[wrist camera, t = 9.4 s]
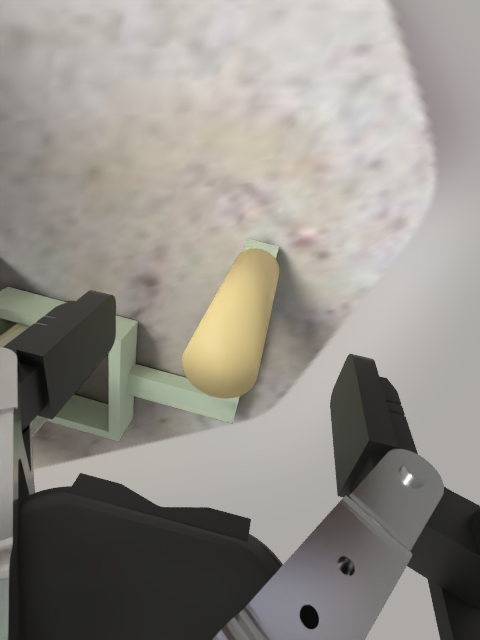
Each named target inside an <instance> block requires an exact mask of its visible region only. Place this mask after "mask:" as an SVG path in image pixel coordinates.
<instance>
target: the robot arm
mask: <svg viewBox="0 0 480 640" xmlns="http://www.w3.org/2000/svg"><path fill="white" fill-rule="evenodd" d="M115 338H116V301H115V297H114V296H113V295H109V294H105V293H100V292H96V291H92V290H90V291H88V292H87V293H86V294H84V295H83V296H82V297H81V298H79V299H78V300H77V301H69V302H67V303H64V304H61V305H59V306H56V307H55V308H54V309H52V310H51V311H50V312H48V313H47V314H46V315H45V317H44V316H43V317H42V318H40V319H39V320H38V321H37V322H36V324H35V323H34V324H33V325H31V326H30V327H29V328H27V329H26V330H25V331H23V332H22V333H21V334H19V335H18V336H17V337H15V338H14V339H13V340H12V341H10V342H9V343H8V344H6V345H5V346H4V347H0V640H365V638H366V637H367V635H368V633H369V631H370V630H371V628H372V626H373V624H374V623H375V621H376V619H377V617H378V616H379V614H380V612H381V610H382V608H383V607H384V605H385V603H386V601H387V600H388V598H389V596H390V594H391V593H392V591H393V589H394V587H395V586H396V584H397V582H398V580H399V579H400V577H401V575H402V573H403V572H404V570H405V568H406V566H408V567H410V568H412V569H413V570H415V571H416V572H418V573H419V574H421V575H423V576H424V577H426V578H427V579H428V583H429V588H430V593H431V598H432V602H433V607H434V611H435V616H436V621H437V626H438V631H439V635H440V640H480V506H479V505H477V504H475V503H473V502H471V501H469V500H468V499H466V498H464V497H462V496H460V495H458V494H456V493H454V492H452V491H450V490H449V489H447V488H446V487H444V484H443V481H442V479H441V477H440V475H439V473H438V472H437V470H436V469H435V468H434V467H433V466H432V465H431V464H430V463H429V462H428V461H427V460H425V459H424V458H423V457H421V456H420V455H418V453H417V450H416V448H415V444H414V441H413V438H412V436H411V432H410V430H409V426H408V423H407V420H406V417H404V411H403V408H402V406H401V402H400V399H399V396H398V393H397V391H396V389H395V388H394V387H393V385H392V384H391V383H390V382H389V381H388V379H387V378H383V377H379V375H378V371H377V368H376V364H375V361H374V360H373V359H370V358H366V357H362V356H357V355H353V354H349V355H348V357H347V359H346V361H345V363H344V366H343V368H342V370H341V372H340V375H339V377H338V379H337V382H336V384H335V386H334V389H333V392H332V396H331V403H330V408H331V421H332V433H333V444H334V457H335V469H336V480H337V492H338V496H340V497H344V498H343V499H342V500H341V501H340V502H339V503H338V504H337V505H336V507H334V508H333V510H332V511H331V512H330V513H329V514H328V515H327V516H326V517H325V519H324V520H323V521H322V522H321V523H320V524H319V525H318V526H317V527H316V529H315V530H314V531H313V532H312V533H311V534H310V535H309V536H308V538H307V539H306V540H305V541H304V542H303V543H302V544H301V545H300V547H299V548H298V549H297V550H296V551H295V552H294V554H292V555H291V557H290V558H289V559H288V560H287V561H286V562H285V563H284V564H282V563H281V561H280V560H279V559H278V558H277V557H276V555H275V554H274V553H273V552H272V551H271V550H270V549H269V548H268V547H267V546H266V545H265V544H263V543H262V542H261V541H259V540H258V539H257V538H255V537H253V536H252V535H250V534H249V529H250V522H251V519H249V518H245V517H241V516H238V515H234V514H230V513H226V512H223V511H219V510H215V509H211V508H191V507H189V508H188V507H185V508H184V507H181V508H179V507H176V508H175V507H160V506H157V505H155V504H153V503H152V502H150V501H149V500H147V499H145V498H144V497H142V496H140V495H139V494H137V493H135V492H134V491H132V490H130V489H129V488H127V487H125V486H124V485H122V484H119V483H115V482H111V481H108V480H104V479H100V478H97V477H93V476H89V475H86V474H82V473H80V474H79V476H78V478H77V479H76V481H75V482H74V484H73V485H72V487H59V488H53V489H48V490H43V491H40V492H37V493H35V488H34V474H33V473H34V472H33V450H32V429H31V424H30V423H31V422H32V421H33V420H34V419H35V418H36V416H41V417H45V418H48V419H52V420H53V418H54V417H55V416H56V415H57V414H58V412H59V411H60V410H61V409H62V408H63V406H64V405H65V404H66V403H67V402H68V401H69V399H70V398H71V397H72V396H73V395H74V393H75V392H76V391H77V390H78V389H79V387H80V386H81V385H82V384H83V383H84V381H85V380H86V379H87V378H88V377H89V375H90V374H91V373H92V372H93V371H94V370H95V368H96V367H97V366H98V365H99V364H100V362H101V361H102V360H103V359H104V358H105V356H106V355H107V354H108V353H109V352H110V350H111V349H112V347H113V345H114V342H115Z"/></svg>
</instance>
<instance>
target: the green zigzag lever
mask: <svg viewBox="0 0 480 640" xmlns="http://www.w3.org/2000/svg"><path fill="white" fill-rule="evenodd" d="M278 249H279V246H275V245H271V244H267V243H263V242H259V241H255V240H251V239H248V240H247V242H246V244H245V247H244V252H242V253H241V254H240V255H239V256H238V257H237V258H236V260H235V261H234V263H233V265H232V267H231V269H230V270H229V272H228V274H227V276H226V278H225V279H224V281H223V283H222V285H221V287H220V288H219V290H218V292H217V294H216V296H215V297H214V299H213V301H212V303H211V304H210V306H209V308H208V310H207V312H206V313H205V315H204V317H203V319H202V321H201V322H200V324H199V326H198V328H197V330H196V331H195V333H194V335H193V337H192V339H191V340H190V342H189V344H188V346H187V347H186V349H185V351H184V354H183V357H182V367H183V371H184V373H185V375H186V377H187V378H185V377H181V376H178V375H174V374H170V373H167V372H163V371H159V370H156V369H152V368H148V367H145V366H141V365H137V364H136V345H137V325H138V321H135V320H131V319H127V318H124V317H120V316H116V338H115V342H114V345H113V347H112V349H111V350H110V352H109V404H105V403H102V402H98V401H95V400H91V399H88V398H84V397H81V396H77V395H73V396H72V397H71V398H70V399H69V401H68V402H67V403H66V404H65V405H64V406H63V408H62V409H61V410H60V411H59V412H58V414H57V415H56V416H55V417H54V418H53V420H52V419H47V420H46V421H48V422H52V423H55V424H59V425H62V426H66V427H69V428H72V429H76V430H79V431H83V432H86V433H90V434H93V435H97V436H100V437H104V438H107V439H111V440H114V441H118V442H119V440H120V439H121V437H122V435H123V434H124V432H125V430H126V429H127V427H128V425H129V424H130V422H131V420H132V419H133V406H134V396H135V397H139V398H142V399H146V400H150V401H153V402H157V403H160V404H164V405H168V406H171V407H175V408H178V409H182V410H185V411H189V412H193V413H196V414H200V415H203V416H207V417H210V418H214V419H218V420H221V421H225V422H228V423H232V424H233V420H234V417H235V413H236V409H237V405H238V401H239V398H240V396H242V395H244V394H246V393H247V392H248V391H250V390H251V389H252V387H253V386H254V385H255V383H256V381H257V377H258V372H259V368H260V363H261V358H262V354H263V349H264V344H265V339H266V335H267V330H268V325H269V320H270V316H271V311H272V306H273V301H274V297H275V292H276V287H277V282H278V278H279V265H278V263H277V261H276V257H277V253H278ZM64 303H67V302H64V301H60V300H56V299H52V298H49V297H45V296H41V295H37V294H34V293H30V292H26V291H22V290H19V289H15V288H11V287H6V288H5V289H3V290H1V291H0V336H1V335H2V334H3V333H5V332H6V331H8V330H9V329H10V328H12V327H13V326H14V325H16V324H17V323H20V324H24V325H28V326H31V325H33V324H34V323H35V324H36V322H37V321H38V320H39V319H40V318H42V317H43V316H44V317H45V315H46V314H47V313H48V312H50V311H51V310H52V309H54V308H55V307H56V306H59V305H61V304H64Z"/></svg>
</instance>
